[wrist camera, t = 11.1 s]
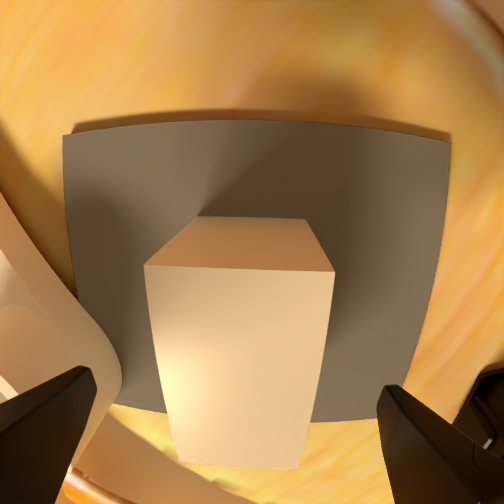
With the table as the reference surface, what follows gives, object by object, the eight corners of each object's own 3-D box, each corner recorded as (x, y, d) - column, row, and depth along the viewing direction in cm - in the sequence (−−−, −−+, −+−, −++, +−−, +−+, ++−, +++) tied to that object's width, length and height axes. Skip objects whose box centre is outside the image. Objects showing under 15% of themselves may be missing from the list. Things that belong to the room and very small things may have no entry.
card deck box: (291, 374, 15) (298, 468, 9) (204, 369, 15) (179, 460, 10) (305, 219, 13) (335, 272, 7) (196, 216, 13) (143, 264, 7)
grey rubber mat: (444, 142, 12) (451, 142, 11) (387, 410, 17) (389, 416, 16) (69, 135, 12) (62, 135, 12) (111, 396, 17) (107, 402, 17)
